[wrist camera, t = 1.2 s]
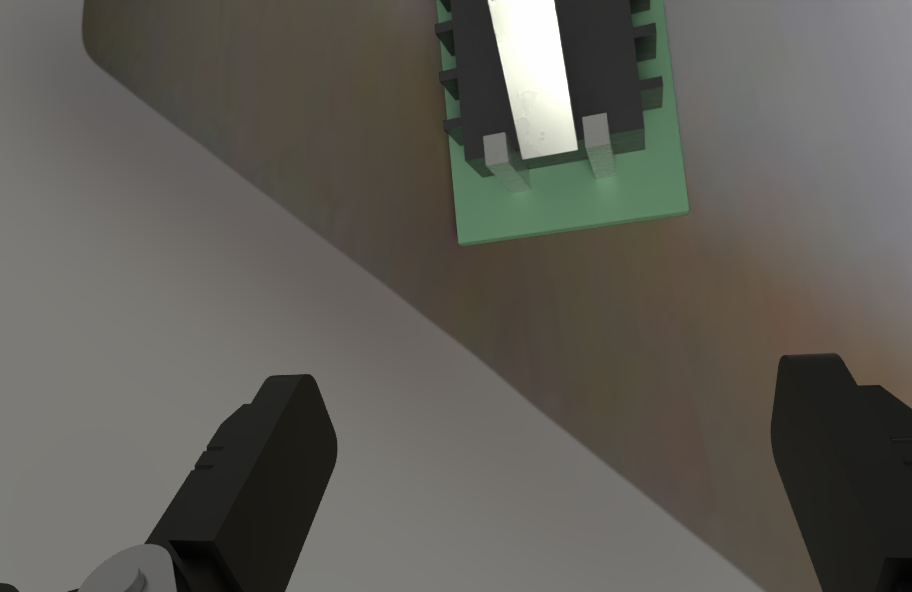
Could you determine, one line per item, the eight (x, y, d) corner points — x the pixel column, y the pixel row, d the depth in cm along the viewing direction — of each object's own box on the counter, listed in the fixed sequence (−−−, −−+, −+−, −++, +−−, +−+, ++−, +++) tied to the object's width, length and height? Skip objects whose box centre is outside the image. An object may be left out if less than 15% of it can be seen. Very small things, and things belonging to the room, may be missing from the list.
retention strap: (578, 142, 34) (577, 149, 33) (523, 152, 35) (522, 159, 34) (520, -213, 25) (518, -214, 24) (451, -188, 26) (446, -189, 25)
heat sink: (443, -55, 41) (406, -124, 35) (634, -110, 38) (632, -199, 32) (466, 200, 40) (432, 175, 34) (669, 167, 36) (673, 132, 30)
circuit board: (435, -67, 43) (429, -78, 42) (645, -129, 39) (644, -143, 38) (463, 246, 41) (458, 243, 40) (687, 214, 37) (689, 210, 36)
